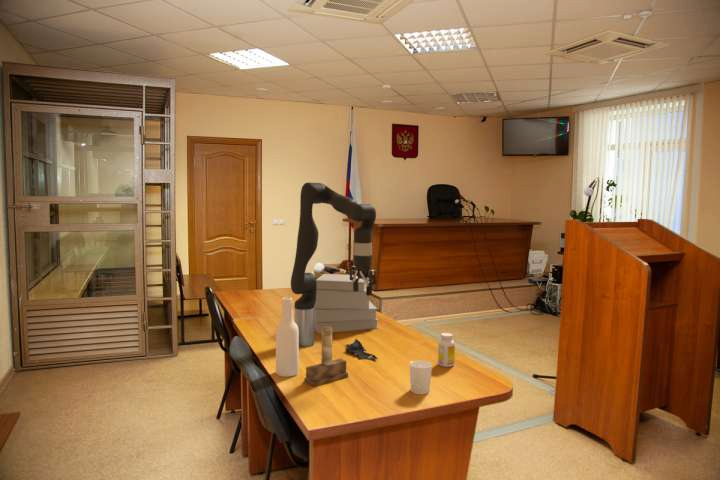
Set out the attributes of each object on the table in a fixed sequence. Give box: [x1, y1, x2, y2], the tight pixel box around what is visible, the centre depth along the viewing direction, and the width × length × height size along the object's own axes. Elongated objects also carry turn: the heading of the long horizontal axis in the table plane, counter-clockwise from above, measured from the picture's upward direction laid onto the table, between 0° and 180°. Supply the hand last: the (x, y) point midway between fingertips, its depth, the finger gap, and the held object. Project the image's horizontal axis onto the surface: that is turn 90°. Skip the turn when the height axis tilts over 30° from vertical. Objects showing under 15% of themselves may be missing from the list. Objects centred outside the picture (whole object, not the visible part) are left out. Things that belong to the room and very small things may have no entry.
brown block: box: [303, 358, 349, 388], centre depth 189 cm, size 16×6×6 cm, turn 128°
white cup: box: [409, 359, 433, 395], centre depth 179 cm, size 8×8×10 cm
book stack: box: [314, 273, 379, 335], centre depth 262 cm, size 30×35×26 cm
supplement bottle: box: [437, 332, 456, 368], centre depth 206 cm, size 7×7×13 cm
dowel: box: [320, 326, 333, 366], centre depth 188 cm, size 4×4×14 cm
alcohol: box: [275, 296, 300, 378], centre depth 193 cm, size 9×9×30 cm
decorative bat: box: [346, 338, 379, 360], centre depth 222 cm, size 30×4×10 cm
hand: (362, 293), depth 201 cm, fingers open, 8 cm apart
